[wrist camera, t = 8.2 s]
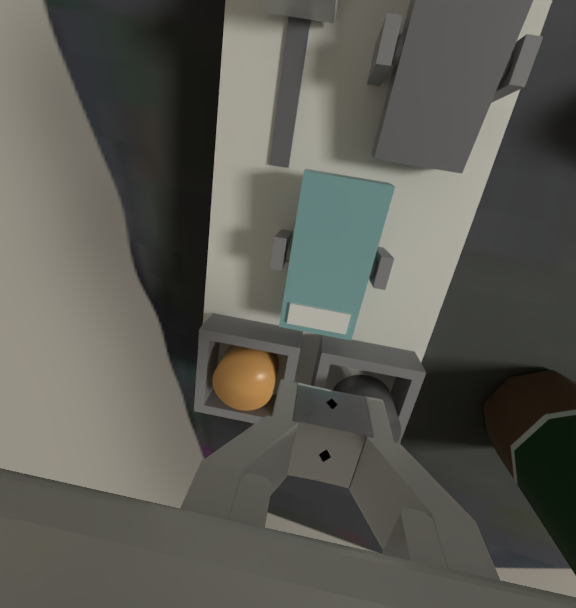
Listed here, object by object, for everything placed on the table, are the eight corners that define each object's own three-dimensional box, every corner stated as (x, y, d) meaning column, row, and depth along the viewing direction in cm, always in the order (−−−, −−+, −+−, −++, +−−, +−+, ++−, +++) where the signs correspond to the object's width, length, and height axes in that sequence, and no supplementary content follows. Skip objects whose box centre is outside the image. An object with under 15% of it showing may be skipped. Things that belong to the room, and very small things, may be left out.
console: (259, -121, 16) (218, -319, 10) (543, -82, 16) (694, -265, 9) (216, 358, 26) (181, 414, 20) (386, 392, 26) (407, 460, 19)
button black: (337, 369, 19) (338, 396, 16) (398, 381, 18) (409, 410, 16) (324, 418, 20) (324, 449, 18) (382, 430, 20) (390, 463, 17)
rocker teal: (301, 167, 15) (298, 170, 14) (393, 183, 15) (400, 187, 14) (279, 313, 19) (274, 327, 17) (353, 327, 19) (355, 342, 17)
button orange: (227, 333, 20) (214, 352, 18) (282, 344, 20) (277, 364, 18) (222, 380, 22) (210, 403, 19) (274, 390, 22) (268, 415, 19)
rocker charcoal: (427, -89, 12) (439, -114, 10) (551, -71, 11) (581, -95, 10) (367, 153, 16) (369, 158, 15) (456, 168, 16) (467, 175, 14)
